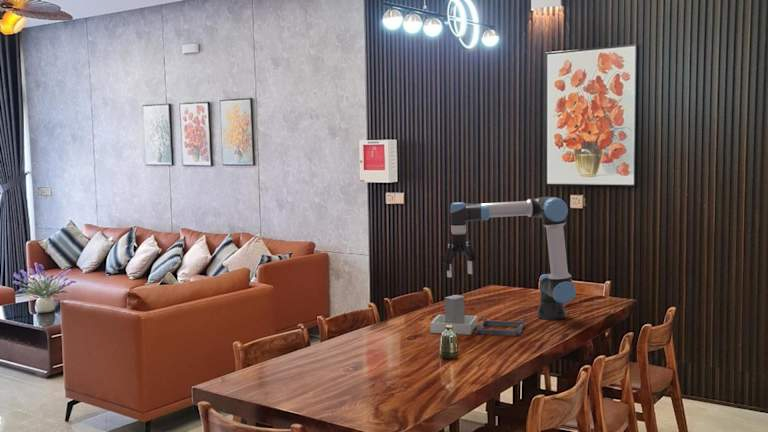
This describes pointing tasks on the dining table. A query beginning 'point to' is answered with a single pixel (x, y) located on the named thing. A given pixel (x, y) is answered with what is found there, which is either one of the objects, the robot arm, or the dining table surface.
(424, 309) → the dining table surface
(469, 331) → the bin
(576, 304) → the dining table surface
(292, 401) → the dining table surface
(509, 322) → the frame
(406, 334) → the dining table surface
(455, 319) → the skincare box
